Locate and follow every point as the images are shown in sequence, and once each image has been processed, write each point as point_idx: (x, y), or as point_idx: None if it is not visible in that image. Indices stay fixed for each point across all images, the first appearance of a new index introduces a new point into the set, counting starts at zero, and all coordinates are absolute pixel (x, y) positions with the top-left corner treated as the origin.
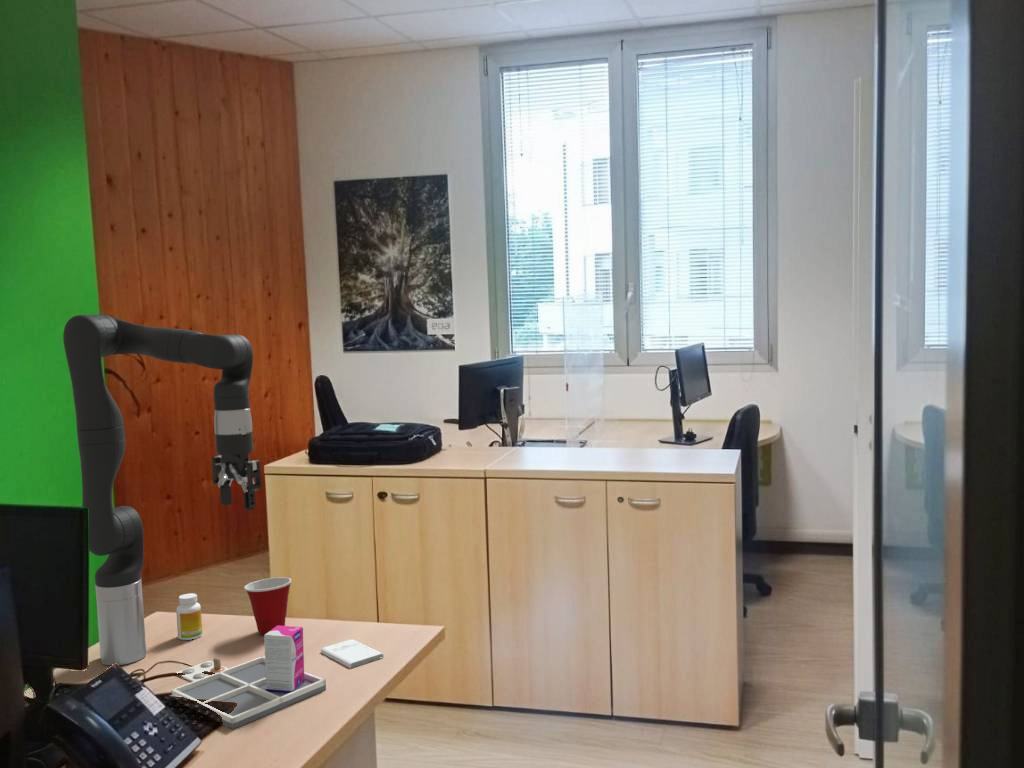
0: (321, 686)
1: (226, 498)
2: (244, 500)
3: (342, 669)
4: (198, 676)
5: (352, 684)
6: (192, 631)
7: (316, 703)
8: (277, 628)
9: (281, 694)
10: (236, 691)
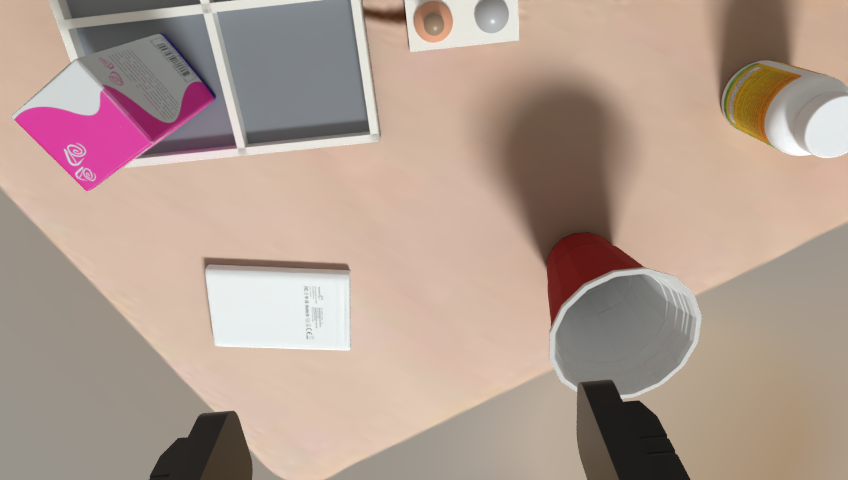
0: None
1: (592, 451)
2: (186, 476)
3: (214, 249)
4: None
5: (113, 218)
6: (735, 93)
7: None
8: (116, 125)
9: None
10: None
